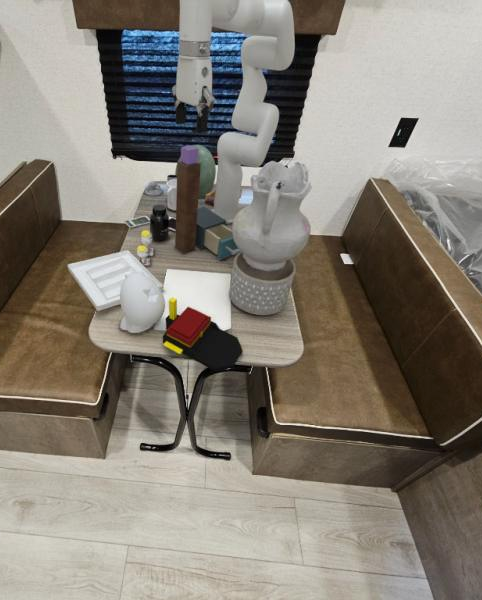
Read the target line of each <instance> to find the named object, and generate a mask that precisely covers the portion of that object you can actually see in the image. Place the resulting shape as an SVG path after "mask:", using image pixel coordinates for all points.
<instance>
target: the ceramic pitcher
mask: <svg viewBox="0 0 482 600" xmlns="http://www.w3.org/2000/svg"><path fill="white" fill-rule="evenodd" d="M307 168H308V167H307V166H306V163H301V162H299V161H296V162H294V165H292V166H290V167H286V165H284V164H283V163H281V162H277V161H275V160H271V161H269V162H267V163H265V164H264V165H263V166H262V168H260V169H259V171H258V173H257V174H252V175H251V177H250V186H251V190H252V201H251V203H249V204H248V205H246V207H244V208H243V209H241V210H240V211H239V212H238V213H237V214H236V216H235V218H234V220H233V223H231V230H232V233H233V238H234V242H235V244H236V246H237V247H238V248H239V249H240V251H241V252H242V253H243V254H242V257H243V258H244V260H245V261H246V263H247V264H249V265H250V266H251V267H252V268H255V269H260V270H264V271H273V270H278V269H282V268H284V266H285V264H286V261H287V260H290V259H292V260H293V258H295V257H297V256H298V255H299V254H300V253H301V252H302V251H303V250H304V249H305V247H306V246H307V244H308V243H309V239H310V235H311V223H310V221H309V219H308V217H306V215H305V214H304V213H303V212H302V211H301V209H300V208H301V205H302V202H303V200H305V198H306V197H307V196H308V195H309V194H310V192H311V190H312V188H313V187H312V184H311V182H310V181H309V172H310V169H307Z"/></svg>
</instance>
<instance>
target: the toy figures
mask: <svg viewBox="0 0 482 600" xmlns="http://www.w3.org/2000/svg"><path fill="white" fill-rule="evenodd" d="M140 235H141V236H140V241H141V243H142V244H141V245H138V246H137V247H136V254H137V256H138V257H139V259H140V260H139V262H141V264H142V265H143V266H145V267H149V266H150V265H151V262H150V261H151V259H150V258H149V257H153V256H154V248H153V247H152V246H151V245H152V243H153V236H152V232H150V230H147V229H143V230H142V231H141V232H140Z"/></svg>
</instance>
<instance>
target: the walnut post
mask: <svg viewBox="0 0 482 600" xmlns="http://www.w3.org/2000/svg"><path fill="white" fill-rule="evenodd" d="M176 162H177V163H176V166H177V198H176V211H175V218H176V232H175V241H174V243H175V245H174V248H175V249H177V250H178V252H180V253H181V254H182V255H185V254H187V253H190V252H193V251H195V250H196V245H195V240H196V226H197V212H198V208H199V199H200V198H199V184H200V170H201V163H200V162H198V163H194V164H189V165H187V164H185V163H183V162H181V160H180V161H178V160H177V161H176Z"/></svg>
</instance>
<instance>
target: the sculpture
mask: <svg viewBox="0 0 482 600" xmlns="http://www.w3.org/2000/svg"><path fill="white" fill-rule="evenodd" d="M192 146H194V147H196V148H198V162H200V163H201V170H200V184H199V198H198V199H201V198H206V194H208V193H210V192H211V190H213V187H214V184H215V181H216V176H217V167H216V163H215V162H216V161H215V158H214V156H213V155H212V153H211V151H210V150H209V149H208V148H207V147H206V146H203V145H200V144H194V145H192ZM180 160H181V156H180V157H179V158H178V160H177V161H180ZM174 173H175V174H174V175H177V165H175V172H174Z"/></svg>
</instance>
